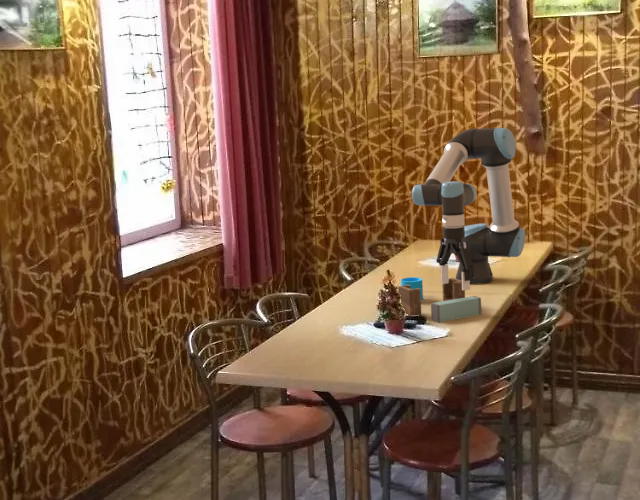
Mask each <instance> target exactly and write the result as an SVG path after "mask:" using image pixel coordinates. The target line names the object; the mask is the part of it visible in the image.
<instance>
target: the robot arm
mask: <svg viewBox="0 0 640 500" xmlns="http://www.w3.org/2000/svg"><path fill="white" fill-rule="evenodd" d="M516 147H517V146H516V140H515V136H514V134H513V132H512V131H511V130H510V129H509V128H507V127H487V128H468V129H465V130H463V131H461V132H459V133H458V134H456V135H455V136H454V137H452V138H451V139H450V140H449V141H448V142H447V144H446V145H445V147H444V149H443V154H442V155H441V157H440V159H439V160H438V161H437V164H436V165H435V166H434V168H433V170H432V171H431V173H430V174H429V176H428V177H427V179H426V180H425V182H424V183H423V184H421V183H419V184H416V185H414V186H413V188H412V190H411V199H412V202H413V204H414V205H416V206H424V207H425V206H426V207H427V206H435V207H436V206H439V207H440V206H441V212H442V213H441V214H442V219H441V221H442V226H443V227H442V237H443V238H440V245H439V248H438V251H437V252H438V253H437V256H436V260H435V261H436V263H438V264H439V265H438V266H439V267H440V269H439V270H440V284H441V285H442V284H446V283H449V260H450V258H451V256H452V254H454V256H456V258H457V259H458V262H459V263H458V268H457V270H456V275H455V279H458V280H462V290H465V291H469V290H471V285H481V284H488V283H491V282H493V281H494V275H493V272H492V268H491V266H490V262H489V257H495V258H496V257H500V258H501V257H502V258H518V257H520V256H521V254H523V251H524V247H525V241H526V230H525V229H524V228H523V227H520V223H519V221H518V220H516V219H515V213H514V204H513V196H512V186H511V179H510V178H511V176H510V168H509V165H510V164H511V163H512V162H513V161H512V158H515V156H516ZM471 159H472V160H480V161H481V163H480V164H481V166H482V167H483V168H485V170H486V176H487V177H486V179H487V185H488V188H487V189H488V194H489V195H488V196H489V203H490V210H491V219H492V222H491V223H490V225H488V224H487V223H484V222H483V223H475V224H469V225H466V224H465V206H466V207H467V206H468V205H471V204H472V203H473V202H474V201H475V200H476V198H477V191H476V189H475V186H473V185H472V184H470V183H463V182H462V181H459V180H458V181H456V180H455V181H453V180H452V179H453V177H454V175H455V174H456V172H457V171H458V169H459V167H460V166H461V165H462V164H465V162H466V161H468V160H471ZM451 180H452V181H451Z"/></svg>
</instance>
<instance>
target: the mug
mask: <svg viewBox="0 0 640 500" xmlns="http://www.w3.org/2000/svg"><path fill="white" fill-rule="evenodd" d="M404 285H411V289H416V288H420V293H421V302H423V301H424V292H423V291H424V289H423V278H421V277H414V276H413V277H411V276H410V277H404V278H403V277H402V278H401V279H400V286H404ZM422 300H423V301H422Z"/></svg>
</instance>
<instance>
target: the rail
mask: <svg viewBox="0 0 640 500" xmlns="http://www.w3.org/2000/svg"><path fill="white" fill-rule="evenodd" d="M430 314H431V315H430V316H431V321H433V322H435V323H442V322H446V321H447V322H449V321H453V320H457V319H464V318H468V317H469V318H470V317H474V316H475V317H476V316H481V315H482V297H479V296H476V295H472V296H467V297H466V296H465V298H459V299H453V300H448V301H443V300H442V301H437V302H431V303H430Z"/></svg>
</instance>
